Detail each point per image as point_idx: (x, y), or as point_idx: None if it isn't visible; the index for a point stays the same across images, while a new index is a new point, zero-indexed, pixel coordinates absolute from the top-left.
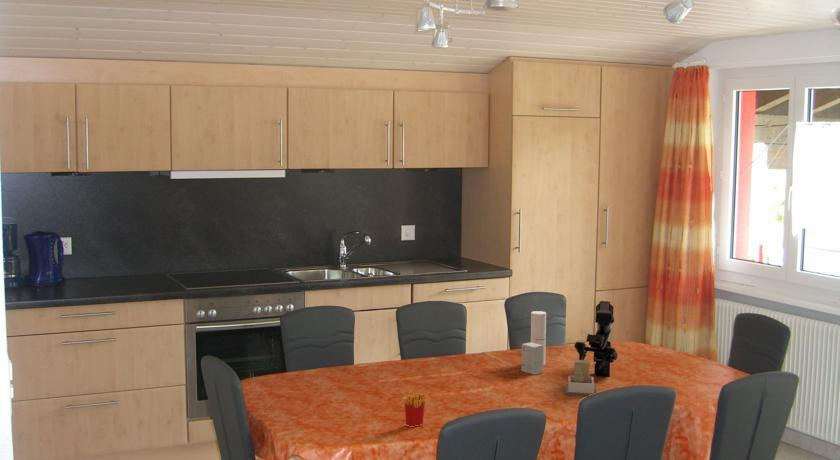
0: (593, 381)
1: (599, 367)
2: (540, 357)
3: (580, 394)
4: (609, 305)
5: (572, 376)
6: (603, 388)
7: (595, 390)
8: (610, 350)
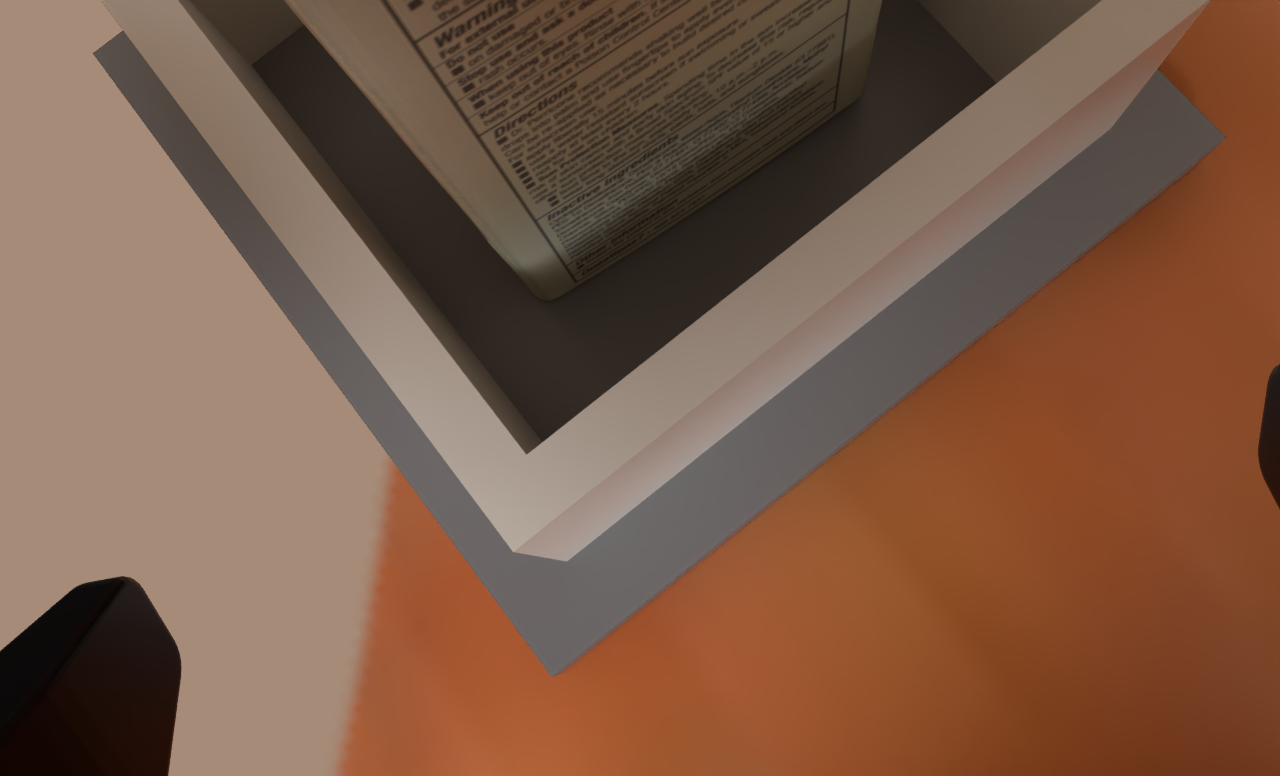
0: (204, 121)
1: (60, 619)
2: None
3: None
4: None
5: (1062, 39)
6: (373, 764)
7: (288, 278)
8: None
